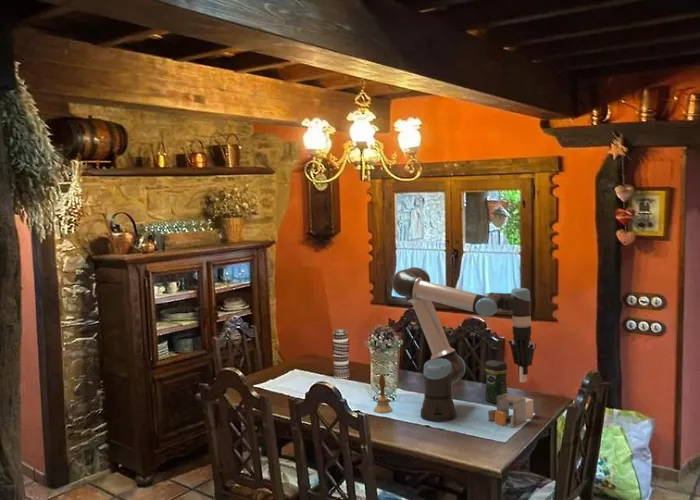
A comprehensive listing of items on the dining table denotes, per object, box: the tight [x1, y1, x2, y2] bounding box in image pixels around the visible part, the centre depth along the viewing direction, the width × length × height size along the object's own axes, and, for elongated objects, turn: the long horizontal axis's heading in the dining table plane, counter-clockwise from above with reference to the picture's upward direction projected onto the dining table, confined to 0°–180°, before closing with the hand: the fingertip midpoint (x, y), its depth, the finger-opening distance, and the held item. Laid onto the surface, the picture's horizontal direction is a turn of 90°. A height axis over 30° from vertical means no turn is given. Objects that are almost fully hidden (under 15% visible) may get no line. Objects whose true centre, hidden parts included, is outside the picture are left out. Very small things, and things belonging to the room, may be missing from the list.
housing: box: [487, 392, 527, 429], centre depth 274 cm, size 10×13×10 cm
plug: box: [494, 396, 534, 427], centre depth 276 cm, size 19×5×7 cm, turn 127°
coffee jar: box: [484, 359, 508, 405], centre depth 301 cm, size 10×8×19 cm
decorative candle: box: [331, 328, 351, 380], centre depth 351 cm, size 9×9×25 cm
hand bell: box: [373, 373, 393, 414], centre depth 293 cm, size 8×8×16 cm
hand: (523, 381), depth 278 cm, fingers closed
